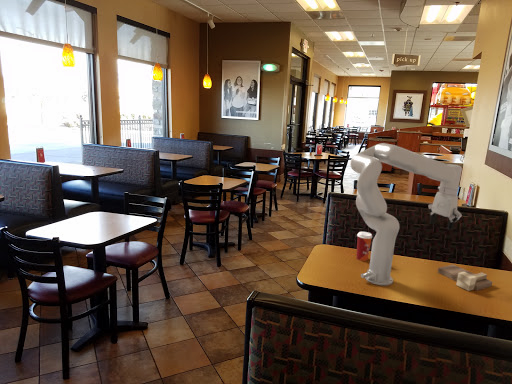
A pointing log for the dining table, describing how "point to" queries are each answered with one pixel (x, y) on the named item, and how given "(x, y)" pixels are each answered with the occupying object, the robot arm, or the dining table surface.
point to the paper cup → (363, 245)
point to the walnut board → (453, 271)
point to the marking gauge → (469, 280)
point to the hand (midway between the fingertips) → (441, 226)
